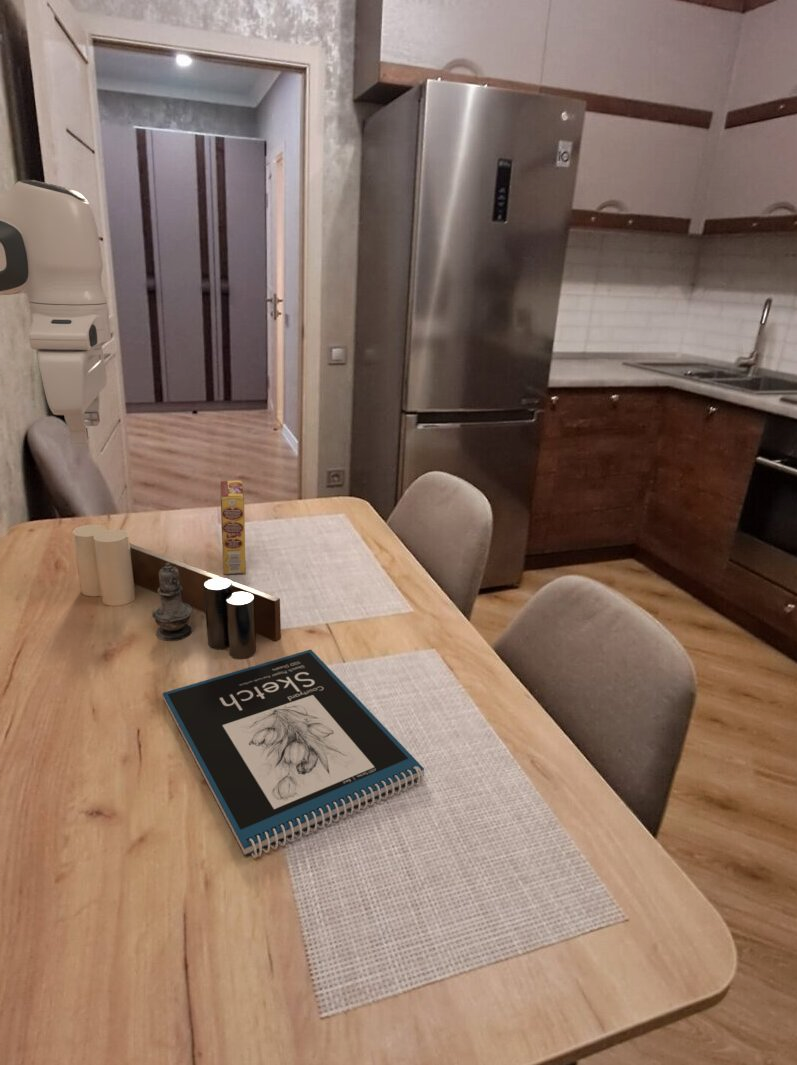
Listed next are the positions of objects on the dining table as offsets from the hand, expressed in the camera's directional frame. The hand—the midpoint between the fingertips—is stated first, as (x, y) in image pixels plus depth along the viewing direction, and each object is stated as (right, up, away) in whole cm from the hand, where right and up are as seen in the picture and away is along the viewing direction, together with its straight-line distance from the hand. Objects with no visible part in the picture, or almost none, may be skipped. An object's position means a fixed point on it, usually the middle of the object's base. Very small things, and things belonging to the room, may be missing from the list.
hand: (87, 433), depth 89 cm
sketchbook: (+28, -39, -8) cm, 49 cm away
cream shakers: (-7, -24, +23) cm, 34 cm away
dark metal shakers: (+17, -30, +10) cm, 36 cm away
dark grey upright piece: (+7, -29, +14) cm, 33 cm away
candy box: (+11, -19, +36) cm, 43 cm away
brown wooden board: (+7, -25, +22) cm, 34 cm away
